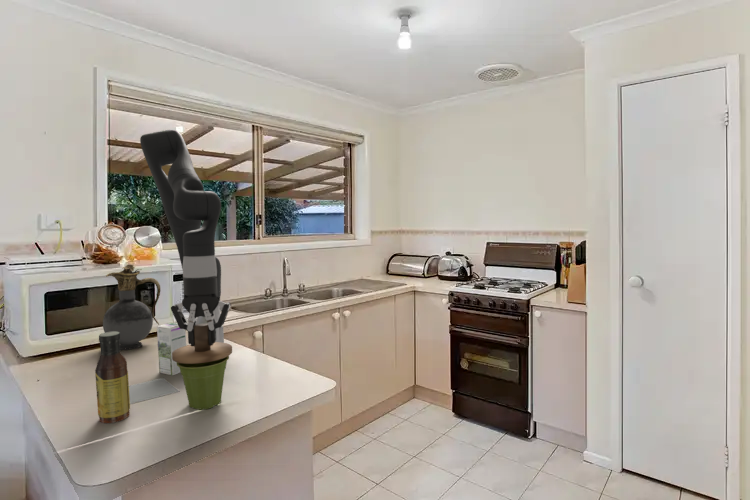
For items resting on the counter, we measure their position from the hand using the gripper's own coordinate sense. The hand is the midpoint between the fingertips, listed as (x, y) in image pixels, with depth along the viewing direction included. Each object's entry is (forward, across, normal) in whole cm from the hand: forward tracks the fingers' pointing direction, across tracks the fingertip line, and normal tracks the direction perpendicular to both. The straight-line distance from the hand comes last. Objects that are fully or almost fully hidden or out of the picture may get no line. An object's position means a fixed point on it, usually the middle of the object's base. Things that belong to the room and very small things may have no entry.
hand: (202, 344), depth 105 cm
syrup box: (+15, -16, +26) cm, 34 cm away
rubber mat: (+15, -18, +10) cm, 26 cm away
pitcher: (+15, -39, +58) cm, 72 cm away
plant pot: (+15, 0, 0) cm, 15 cm away
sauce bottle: (+15, -18, -5) cm, 24 cm away
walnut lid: (+2, 0, 0) cm, 2 cm away
